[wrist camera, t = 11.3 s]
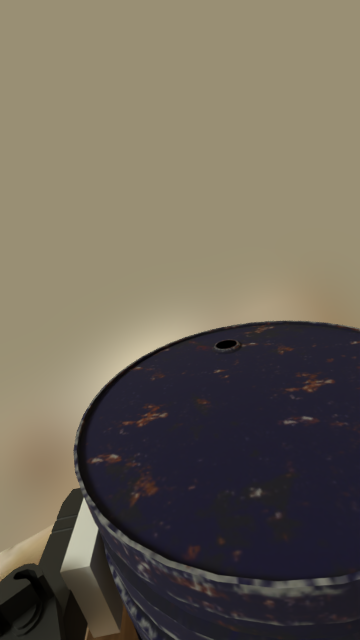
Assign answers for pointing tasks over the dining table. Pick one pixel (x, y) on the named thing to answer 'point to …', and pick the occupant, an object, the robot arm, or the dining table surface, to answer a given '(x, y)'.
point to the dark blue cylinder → (232, 483)
